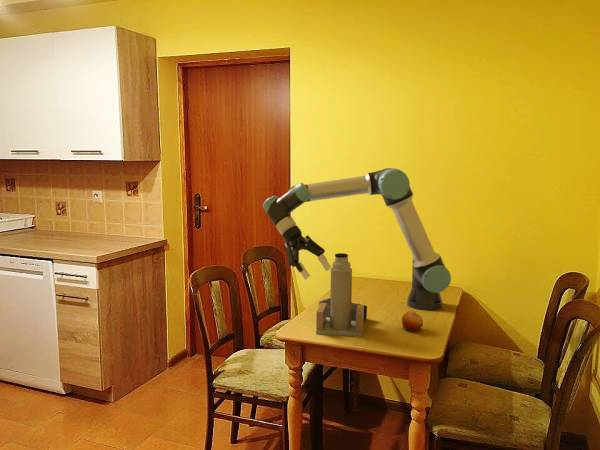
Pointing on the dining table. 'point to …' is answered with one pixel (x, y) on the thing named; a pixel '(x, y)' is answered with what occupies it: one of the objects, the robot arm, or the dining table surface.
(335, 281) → the thermos bottle
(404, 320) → the fruit
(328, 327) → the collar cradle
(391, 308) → the dining table surface
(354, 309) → the beverage carton
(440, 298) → the robot arm
